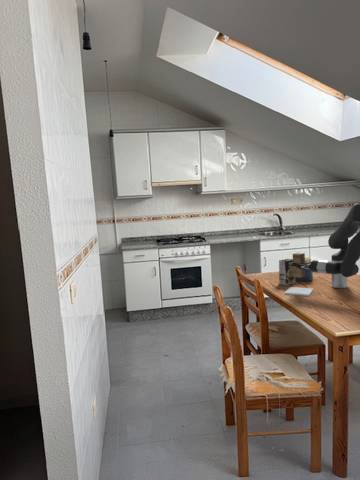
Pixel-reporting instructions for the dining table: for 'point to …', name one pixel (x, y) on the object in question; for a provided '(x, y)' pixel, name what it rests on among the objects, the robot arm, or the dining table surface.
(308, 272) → the canister
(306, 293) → the pale pad
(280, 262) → the coffee box
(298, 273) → the walnut block
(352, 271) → the robot arm
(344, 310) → the dining table surface
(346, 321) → the dining table surface
